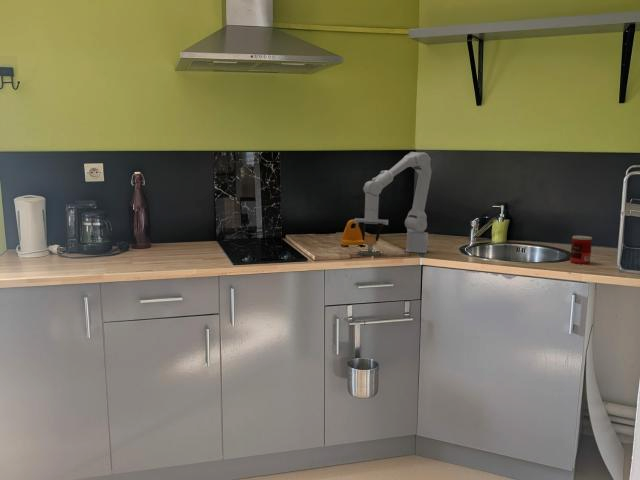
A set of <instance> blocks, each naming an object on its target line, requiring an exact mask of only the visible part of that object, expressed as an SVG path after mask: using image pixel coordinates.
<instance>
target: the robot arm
mask: <svg viewBox="0 0 640 480" xmlns="http://www.w3.org/2000/svg"><path fill="white" fill-rule="evenodd" d="M431 160H432V158H431V157H430V156H429V154H428V153H426V152H423V151H421V152H416V151H410V152H409V153H407V154H406V155H404V157H402V159H400V160H399V161H398V162H397V163H396V164H394V165H393V166H392V167H391V168H390V169H389V170H381V171H380V172H379V174H378V175H377V176H375V177H373V178H372V179H371V180H369V181H366V182H365V183H364V186H363V187H362V190H363V192H364V194H365V195H364V197H365V199H364V201H365V202H364V218H361V217H359V218H358V217H355V218H354V219H353V220H354V223H353V224H355V223H359V225H358V226H359V228H360V231H361V234H362V238H363V240H364V236H365V235H366V227H367V226H366V225H367V224H370V225H376V233H375V236H376V241H377V242H379V240H380V239H379V238H380V234H381V232H382V229H383V227H384V225H385V226H389V219H380V218H379V201H380V200H379V199H380V196H379V195H380V194H381V193H382V190H383V189H384V188H385V187H386V186H388V185H389V184H391V182H393V181H394V177H396V176H397V175H398V174H400V173H401V172H402V171H404V170H406V169H407V168H412V169H413V170H415V171H416V173H417V174H418V175H417V176H418V177H417V181H416V187H415V192H414V197H413V202H412V206H411V207H412V208H411V209H410V210H409V211H408V213H407V216H406V218H405V220H404V226H405V228H406V231H407V232H406V249H405V250H404V252H405V251H406V252H405V253H418V254H427V252H428V250H429V232H425V230H427V228H428V227H427V226H428V222H427V217H428V216H427V214H426V212H425V210H426V209H425V208H426V204H427V199H428V193H429V188H430V184H431V178H432V173H433V172H432V166H431Z"/></svg>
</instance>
